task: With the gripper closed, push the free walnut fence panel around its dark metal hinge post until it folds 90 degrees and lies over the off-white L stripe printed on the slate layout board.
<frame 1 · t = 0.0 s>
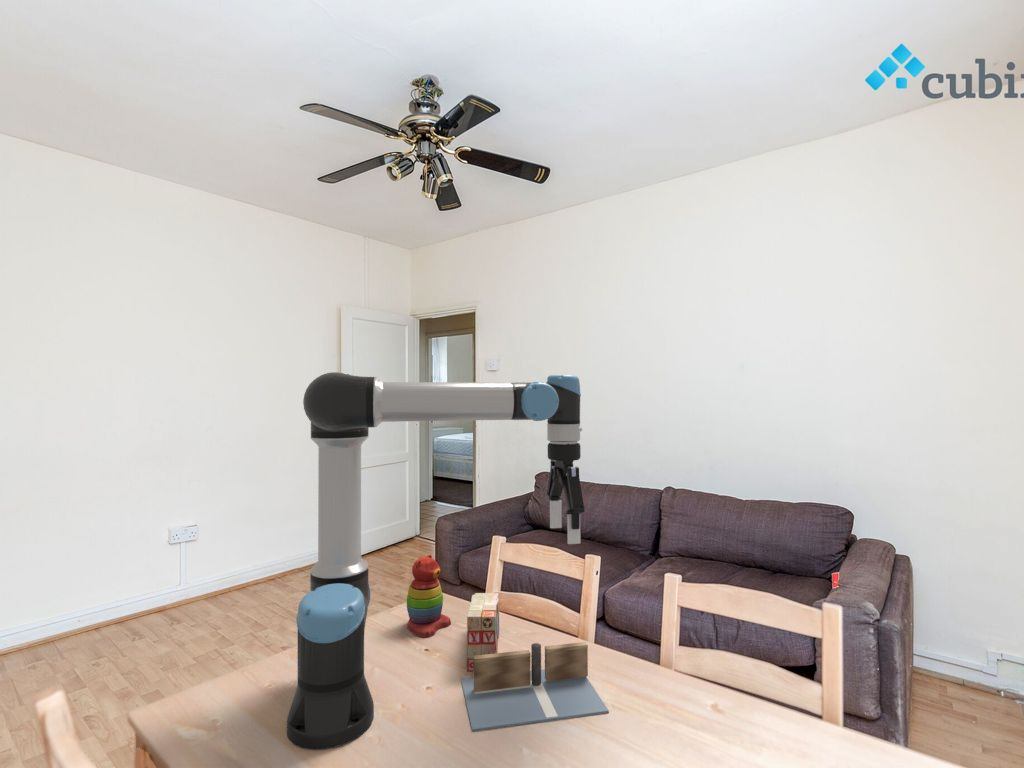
hand: (564, 535, 121), 28 cm above the table, tool pointing down, fingers open, 13 cm apart
stacking bear: (426, 627, 137), on the table
layout board: (531, 696, 106), on the table
fence folding panel: (566, 661, 111), point 4 cm above the table, hinge at 0.0°
stack of blocks: (484, 649, 125), on the table
fence fixed panel: (536, 685, 109), resting on layout board
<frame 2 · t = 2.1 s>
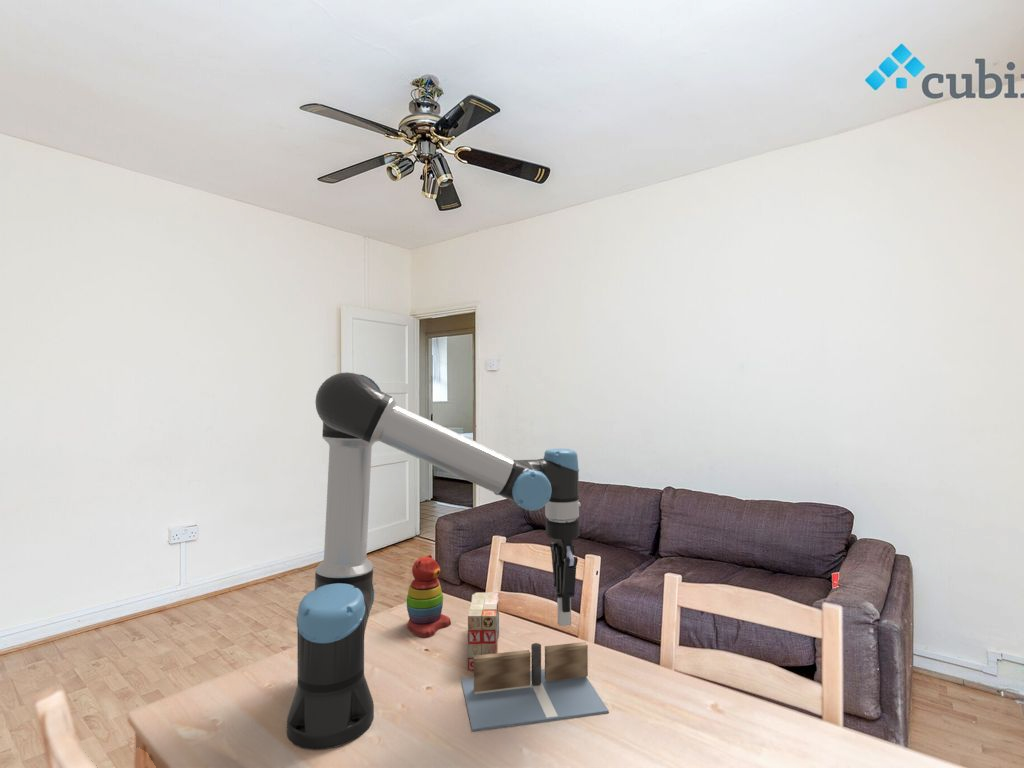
hand: (564, 624, 118), 9 cm above the table, tool pointing down, fingers closed
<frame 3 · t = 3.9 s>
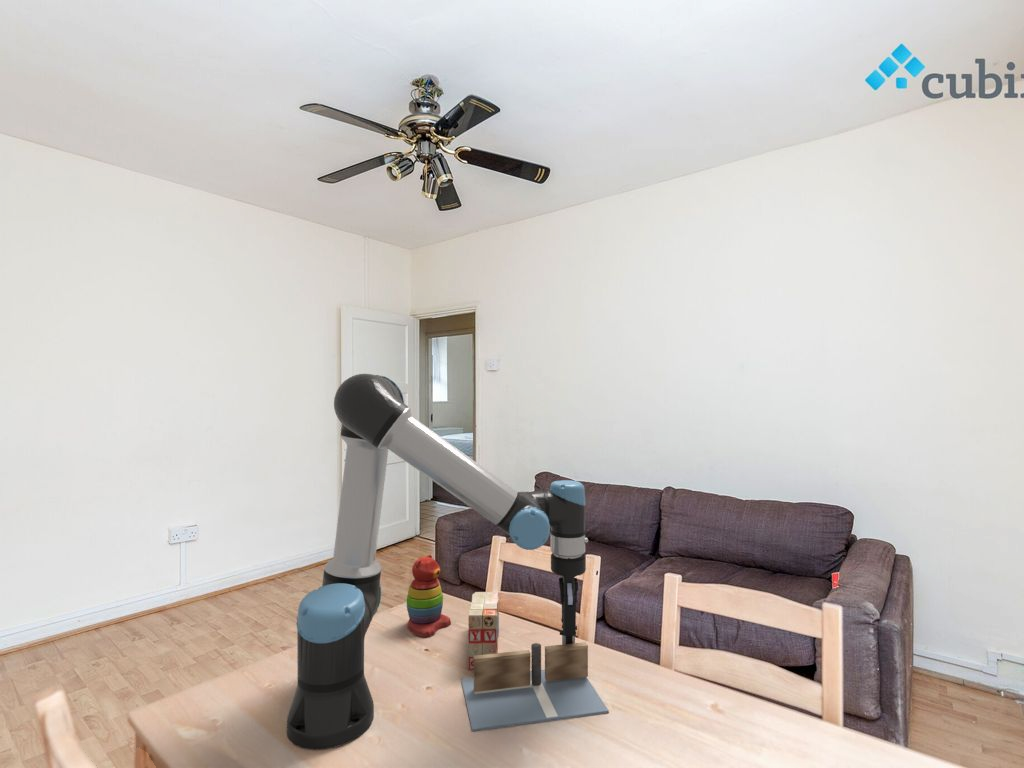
hand: (568, 662, 114), 2 cm above the table, tool pointing down, fingers closed
fence folding panel: (566, 661, 111), point 4 cm above the table, hinge at 0.8°, touching gripper
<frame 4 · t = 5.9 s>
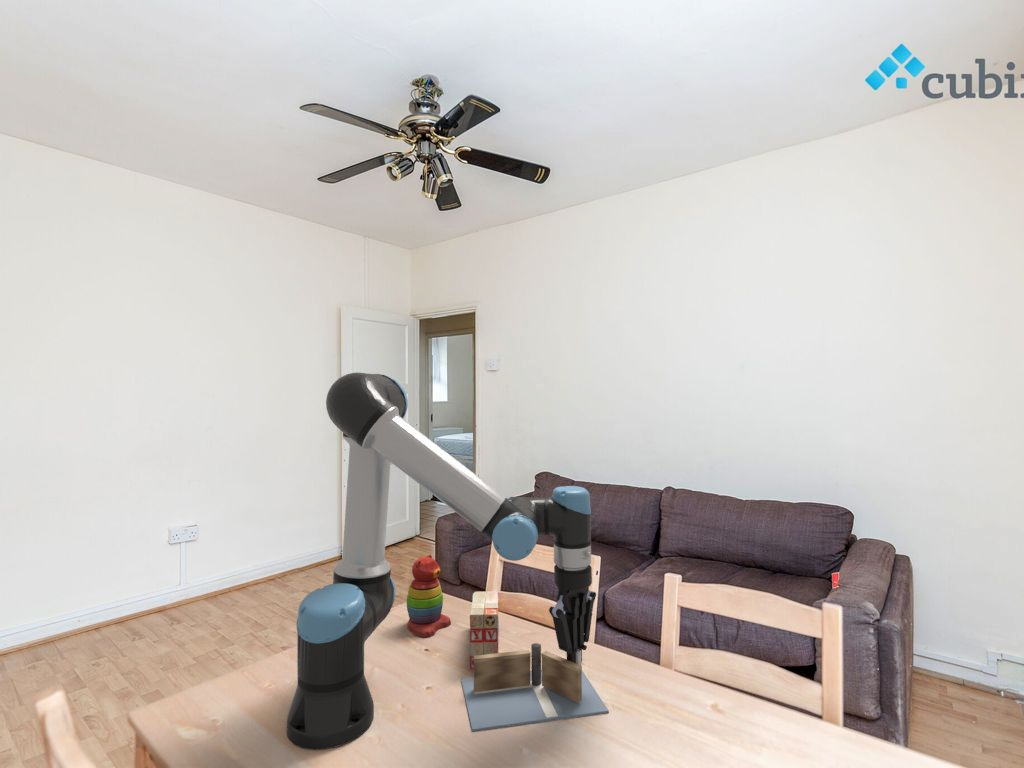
hand: (574, 681, 107), 2 cm above the table, tool pointing down, fingers closed
fence folding panel: (561, 676, 105), point 4 cm above the table, hinge at 54.8°, touching gripper
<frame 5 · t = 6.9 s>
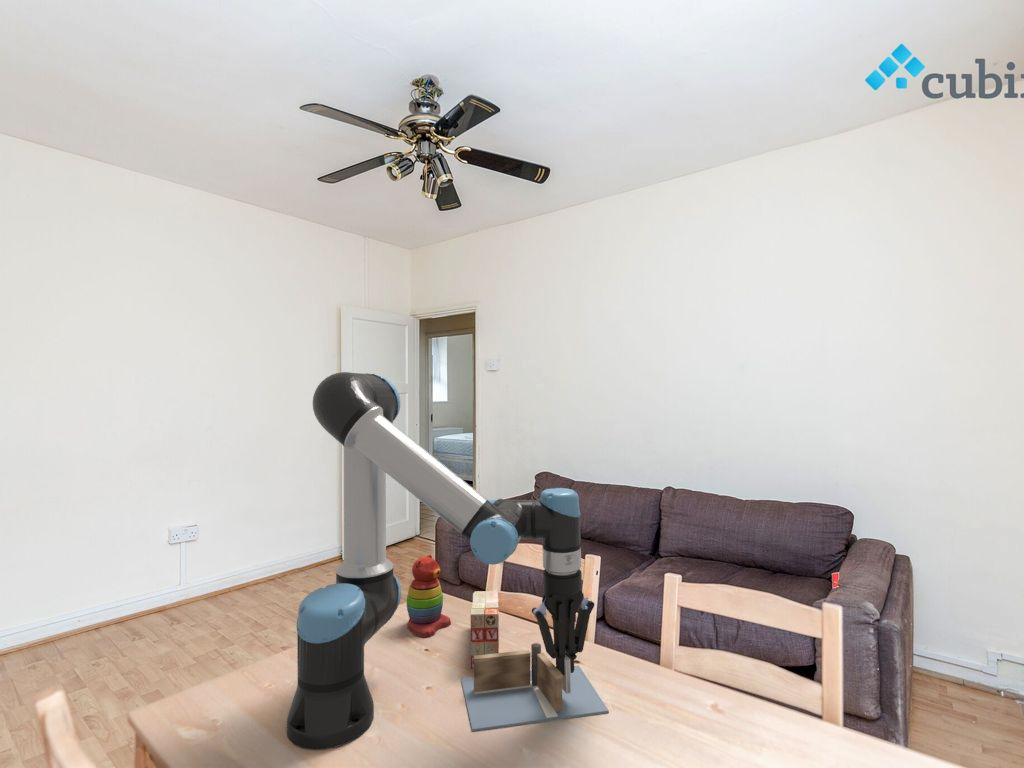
hand: (565, 689, 104), 2 cm above the table, tool pointing down, fingers closed
fence folding panel: (549, 680, 103), point 4 cm above the table, hinge at 81.6°, touching gripper
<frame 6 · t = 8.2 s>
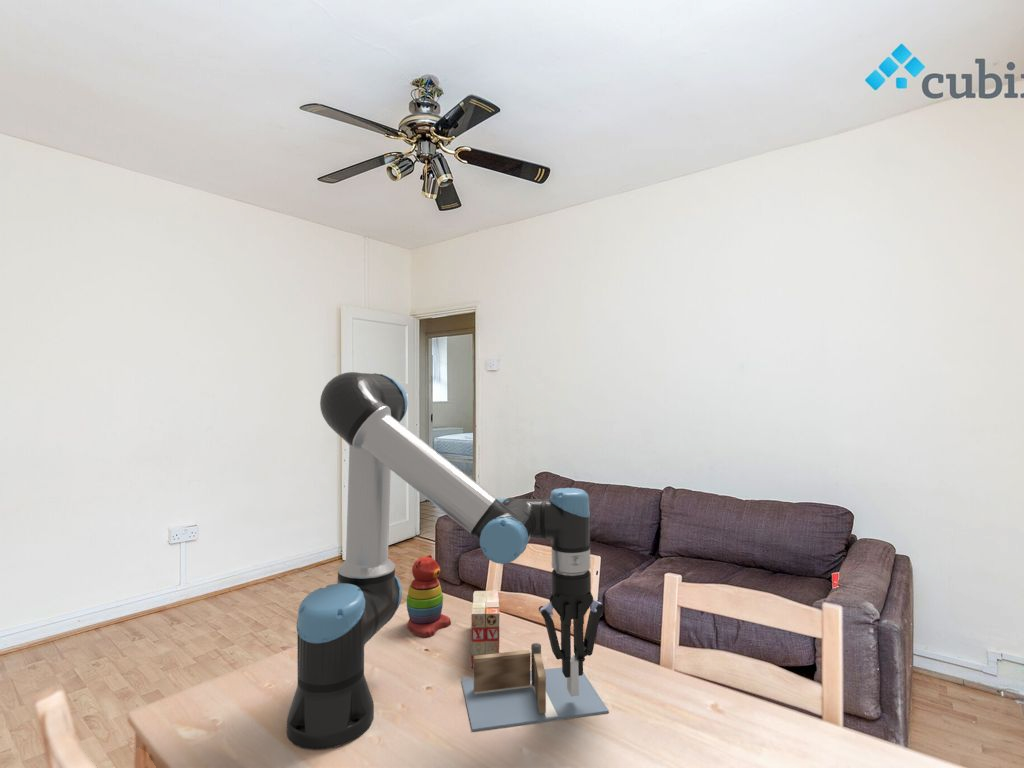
hand: (572, 692, 102), 3 cm above the table, tool pointing down, fingers closed
fence folding panel: (539, 682, 103), point 4 cm above the table, hinge at 98.5°
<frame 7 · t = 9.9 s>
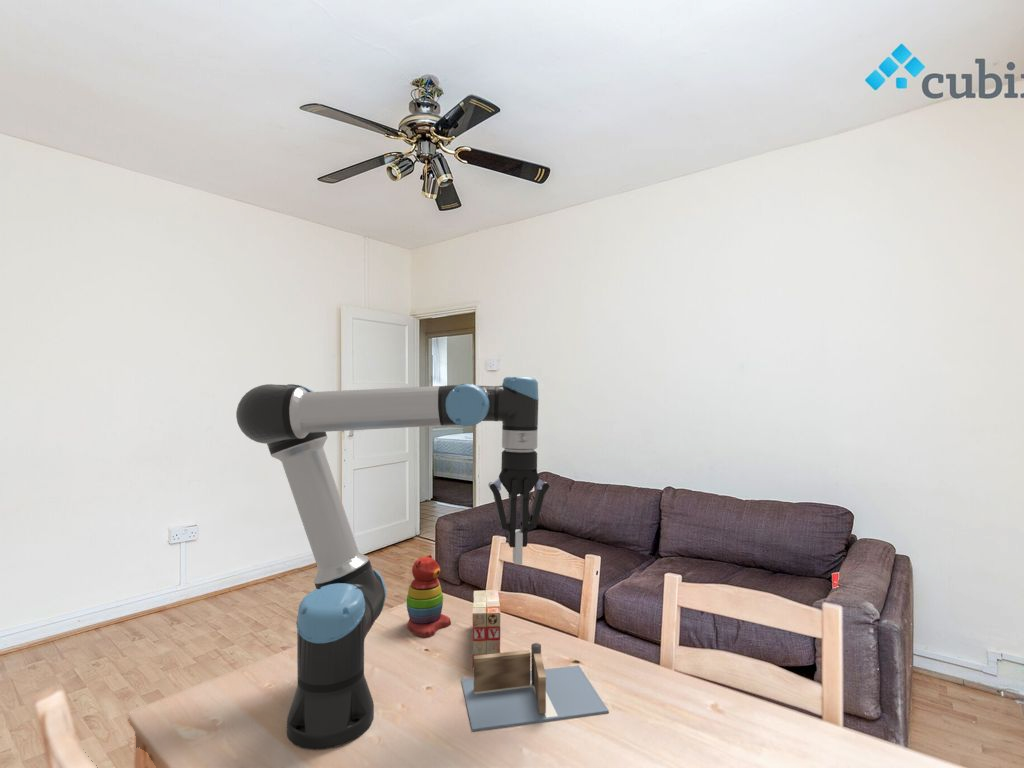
hand: (517, 562, 111), 25 cm above the table, tool pointing down, fingers closed
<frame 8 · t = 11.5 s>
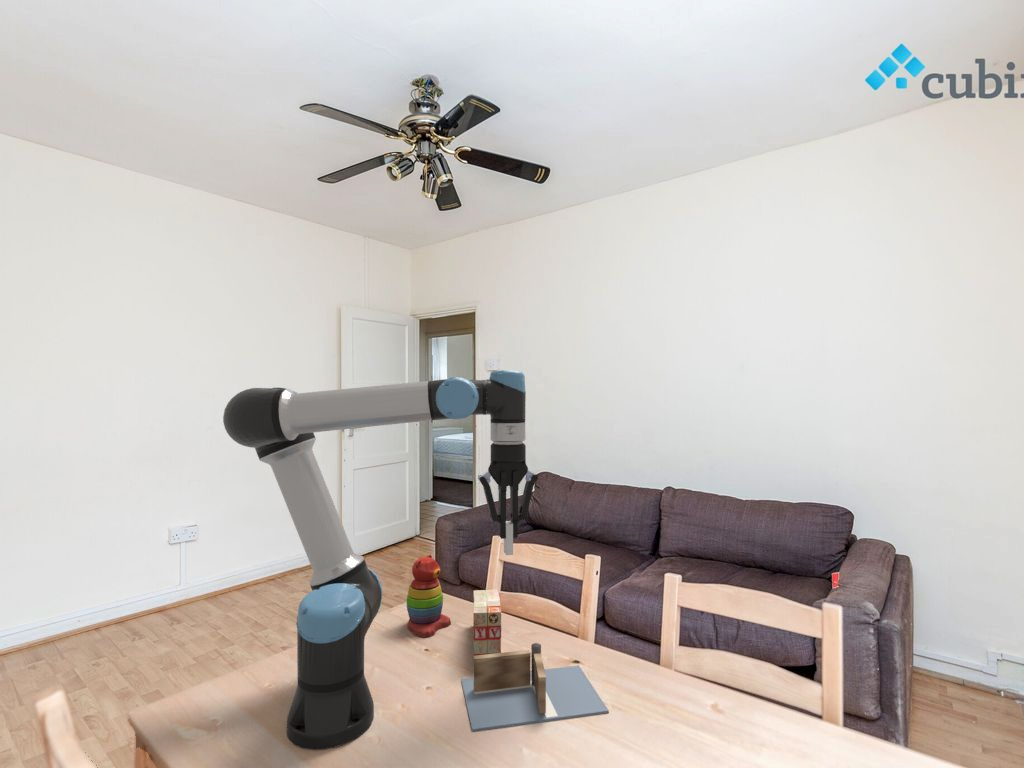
hand: (508, 553, 113), 26 cm above the table, tool pointing down, fingers closed
at the end: fence folding panel at +98° (first picture: +0°); fence folding panel touching nothing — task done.
